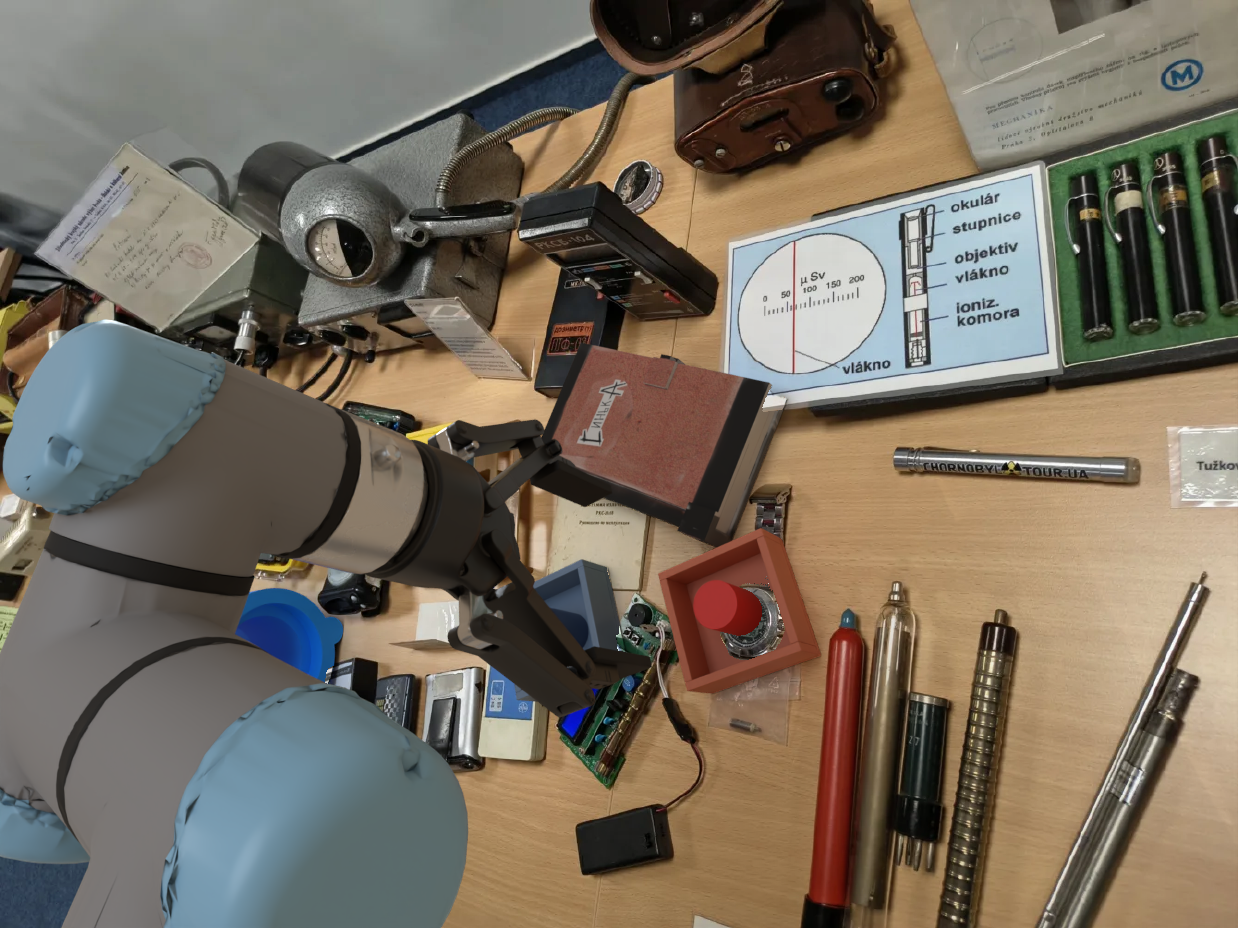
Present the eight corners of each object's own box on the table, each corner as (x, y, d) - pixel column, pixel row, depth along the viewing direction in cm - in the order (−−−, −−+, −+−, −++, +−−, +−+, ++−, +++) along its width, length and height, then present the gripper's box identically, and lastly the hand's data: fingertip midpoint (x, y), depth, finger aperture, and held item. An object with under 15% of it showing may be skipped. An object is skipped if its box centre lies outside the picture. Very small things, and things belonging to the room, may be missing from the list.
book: (790, 392, 77) (770, 374, 74) (727, 551, 76) (704, 541, 72) (604, 352, 94) (580, 335, 90) (551, 482, 93) (524, 471, 89)
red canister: (771, 627, 70) (743, 619, 66) (730, 643, 72) (700, 636, 68) (757, 583, 72) (729, 572, 68) (718, 599, 74) (687, 590, 70)
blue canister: (592, 646, 81) (556, 640, 77) (560, 659, 83) (524, 654, 78) (584, 607, 83) (549, 599, 79) (554, 621, 85) (518, 613, 81)
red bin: (821, 655, 68) (801, 650, 64) (711, 694, 73) (686, 691, 69) (782, 538, 73) (761, 527, 70) (682, 581, 78) (657, 573, 74)
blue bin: (630, 669, 79) (603, 665, 75) (545, 702, 84) (516, 700, 80) (607, 567, 84) (581, 558, 80) (529, 603, 89) (501, 596, 85)
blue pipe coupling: (269, 658, 123) (187, 770, 110) (165, 569, 113) (60, 681, 99) (368, 647, 110) (289, 772, 97) (260, 546, 100) (155, 670, 86)
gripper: (460, 729, 32) (701, 736, 48) (414, 287, 44) (621, 414, 60) (344, 774, 35) (608, 767, 51) (331, 351, 47) (549, 454, 63)
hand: (615, 577), depth 56 cm, fingers open, 13 cm apart
